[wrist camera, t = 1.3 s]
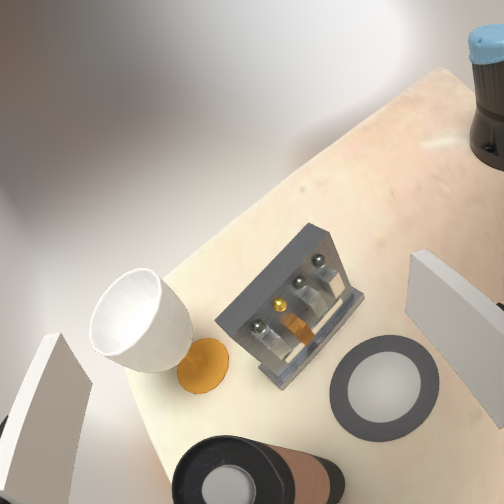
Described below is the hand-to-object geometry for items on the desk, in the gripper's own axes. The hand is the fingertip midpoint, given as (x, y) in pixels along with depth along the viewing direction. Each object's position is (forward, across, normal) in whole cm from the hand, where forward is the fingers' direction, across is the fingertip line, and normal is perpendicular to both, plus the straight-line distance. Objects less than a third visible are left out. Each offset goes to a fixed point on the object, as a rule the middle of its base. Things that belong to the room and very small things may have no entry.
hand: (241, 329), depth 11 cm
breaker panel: (+22, +8, -22) cm, 32 cm away
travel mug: (+5, +3, -30) cm, 30 cm away
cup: (+26, -8, -27) cm, 38 cm away
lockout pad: (+12, +14, -23) cm, 29 cm away
